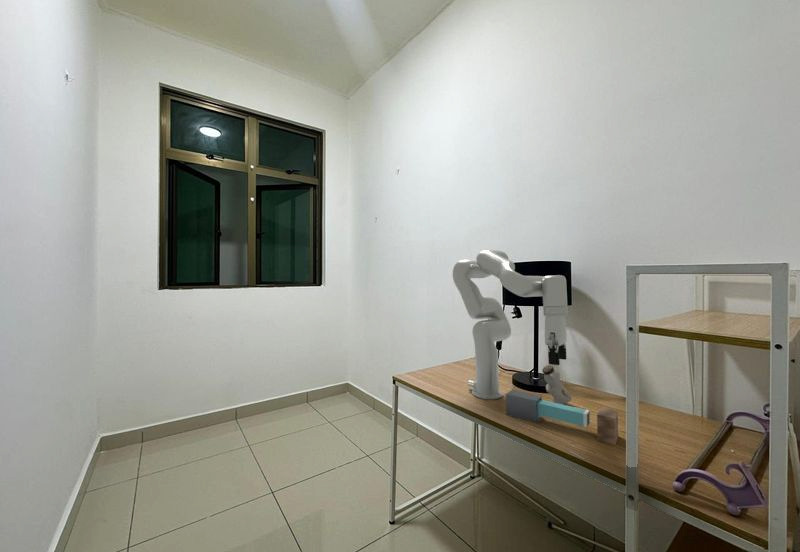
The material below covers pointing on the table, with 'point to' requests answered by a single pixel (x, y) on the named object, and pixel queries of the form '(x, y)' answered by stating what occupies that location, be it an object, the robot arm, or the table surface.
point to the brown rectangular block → (607, 425)
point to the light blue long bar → (563, 413)
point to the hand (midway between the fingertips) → (557, 361)
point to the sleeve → (522, 405)
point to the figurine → (555, 386)
